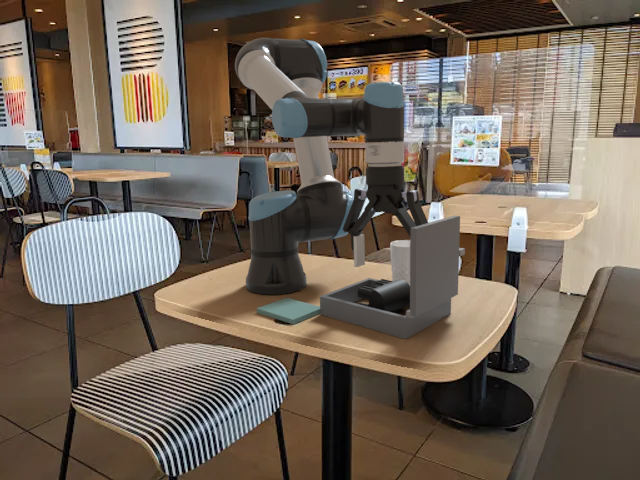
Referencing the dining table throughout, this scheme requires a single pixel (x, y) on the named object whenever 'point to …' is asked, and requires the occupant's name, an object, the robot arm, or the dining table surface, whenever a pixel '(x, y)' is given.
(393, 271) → the white cup
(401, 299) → the end cap
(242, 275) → the dining table surface
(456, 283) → the case
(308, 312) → the rubber pad
